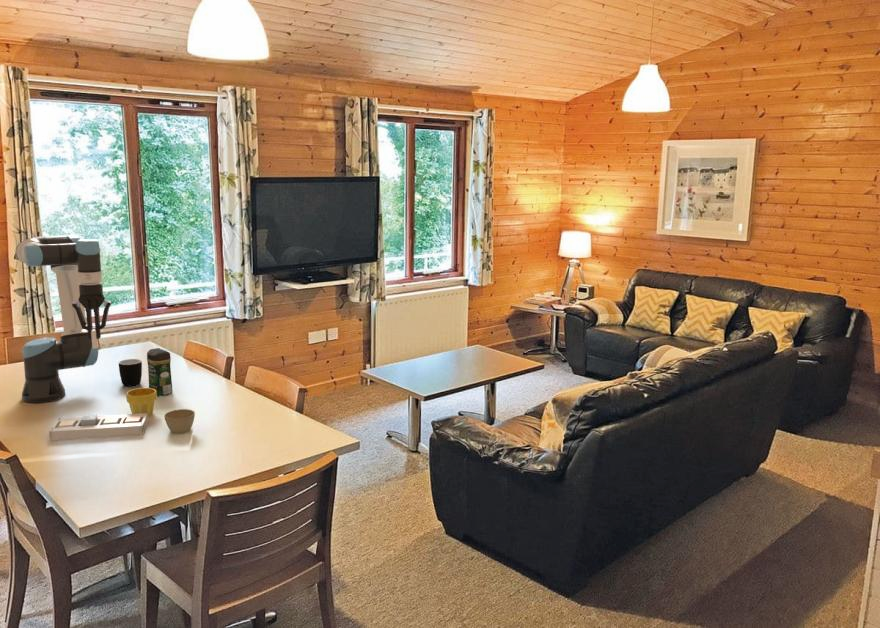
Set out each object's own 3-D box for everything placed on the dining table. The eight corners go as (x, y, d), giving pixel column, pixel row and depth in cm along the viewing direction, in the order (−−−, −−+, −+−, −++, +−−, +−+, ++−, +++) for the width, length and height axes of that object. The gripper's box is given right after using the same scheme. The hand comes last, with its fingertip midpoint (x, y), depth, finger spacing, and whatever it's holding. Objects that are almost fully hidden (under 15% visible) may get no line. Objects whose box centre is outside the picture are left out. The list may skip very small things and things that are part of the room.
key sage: (103, 429, 244) (103, 422, 244) (106, 425, 248) (105, 418, 248) (117, 428, 245) (116, 422, 245) (119, 424, 250) (119, 417, 249)
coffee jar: (146, 392, 291) (143, 348, 288) (164, 388, 297) (162, 345, 293) (156, 398, 285) (153, 353, 281) (175, 394, 290) (173, 350, 287)
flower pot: (165, 429, 251) (164, 410, 250) (195, 426, 255) (194, 407, 253) (165, 440, 242) (164, 420, 241) (196, 436, 246) (195, 417, 244)
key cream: (58, 432, 241) (58, 425, 240) (62, 428, 245) (61, 421, 244) (73, 431, 242) (72, 424, 241) (76, 427, 246) (75, 420, 246)
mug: (146, 385, 301) (144, 362, 299) (124, 389, 295) (122, 365, 293) (136, 378, 310) (134, 356, 308) (114, 382, 304) (113, 359, 302)
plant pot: (164, 415, 265) (162, 390, 263) (140, 423, 257) (138, 397, 255) (145, 410, 270) (144, 385, 269) (121, 418, 262) (119, 392, 260)
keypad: (50, 443, 237) (48, 431, 236) (60, 429, 249) (59, 418, 248) (143, 437, 244) (142, 425, 243) (148, 424, 256) (147, 413, 255)
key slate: (81, 427, 242) (80, 420, 242) (83, 422, 246) (83, 415, 246) (95, 426, 243) (94, 419, 243) (97, 421, 248) (97, 415, 247)
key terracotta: (125, 428, 246) (125, 421, 246) (127, 424, 250) (127, 417, 250) (139, 427, 247) (138, 420, 247) (141, 423, 251) (140, 416, 251)
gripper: (67, 285, 247) (73, 350, 252) (108, 284, 251) (113, 349, 255) (73, 282, 255) (78, 345, 259) (112, 281, 258) (116, 344, 263)
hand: (95, 347), depth 257 cm, fingers closed
